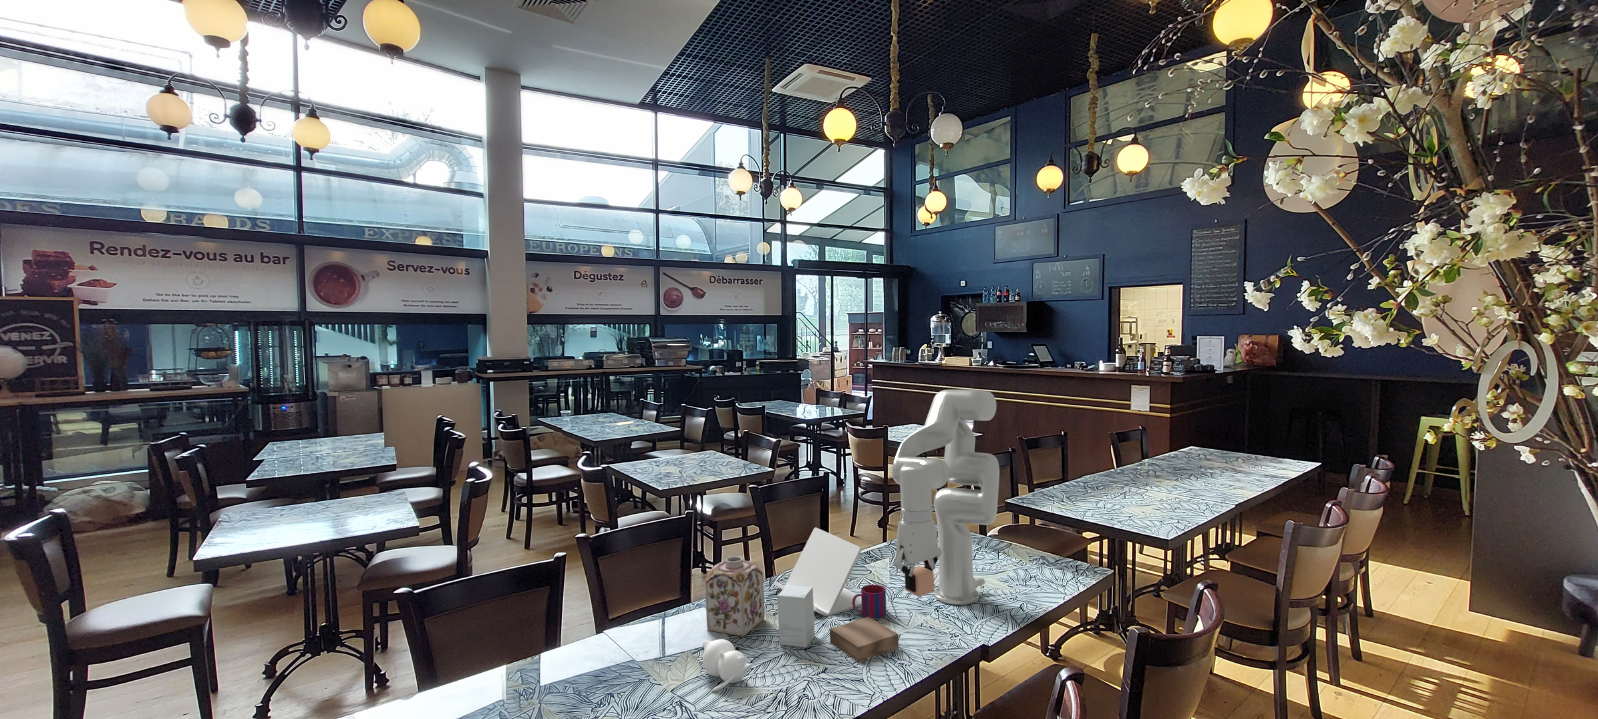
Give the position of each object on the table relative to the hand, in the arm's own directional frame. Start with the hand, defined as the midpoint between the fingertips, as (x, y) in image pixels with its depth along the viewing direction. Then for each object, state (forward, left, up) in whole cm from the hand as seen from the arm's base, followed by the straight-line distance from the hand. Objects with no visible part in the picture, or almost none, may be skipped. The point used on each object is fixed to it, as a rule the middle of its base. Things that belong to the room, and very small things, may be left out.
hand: (919, 586), depth 160 cm
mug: (+1, -21, -14) cm, 25 cm away
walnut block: (+13, -7, -14) cm, 20 cm away
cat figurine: (+48, -12, -14) cm, 52 cm away
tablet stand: (+5, -39, -14) cm, 42 cm away
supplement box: (+25, -19, -14) cm, 34 cm away
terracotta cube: (0, 0, -1) cm, 1 cm away
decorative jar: (+34, -36, -14) cm, 51 cm away
